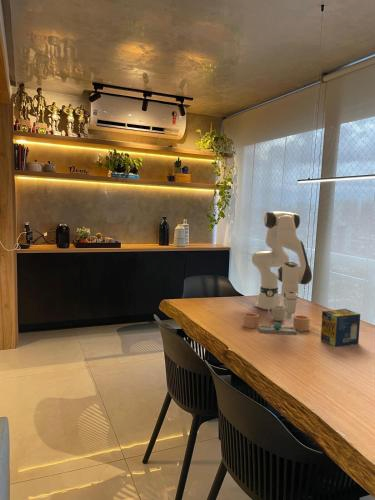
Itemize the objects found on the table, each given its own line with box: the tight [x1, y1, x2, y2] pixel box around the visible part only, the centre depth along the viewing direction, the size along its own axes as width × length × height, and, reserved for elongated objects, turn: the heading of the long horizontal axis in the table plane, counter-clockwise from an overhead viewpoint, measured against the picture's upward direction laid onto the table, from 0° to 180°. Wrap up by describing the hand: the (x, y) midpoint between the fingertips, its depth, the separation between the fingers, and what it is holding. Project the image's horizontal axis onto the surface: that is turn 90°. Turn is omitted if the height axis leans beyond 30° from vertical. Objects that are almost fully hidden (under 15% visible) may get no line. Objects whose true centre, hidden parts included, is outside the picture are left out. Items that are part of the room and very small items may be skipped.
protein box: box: [320, 308, 361, 348], centre depth 188 cm, size 10×15×16 cm
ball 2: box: [284, 311, 293, 320], centre depth 203 cm, size 4×4×4 cm
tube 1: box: [242, 312, 260, 329], centre depth 213 cm, size 9×9×7 cm
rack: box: [258, 325, 297, 335], centre depth 204 cm, size 19×8×2 cm, turn 83°
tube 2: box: [292, 314, 311, 332], centre depth 209 cm, size 9×9×7 cm
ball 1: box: [273, 321, 282, 330], centre depth 204 cm, size 4×4×4 cm
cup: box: [267, 305, 286, 322], centre depth 226 cm, size 11×8×8 cm
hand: (288, 316), depth 203 cm, fingers closed on ball 2, 4 cm apart
